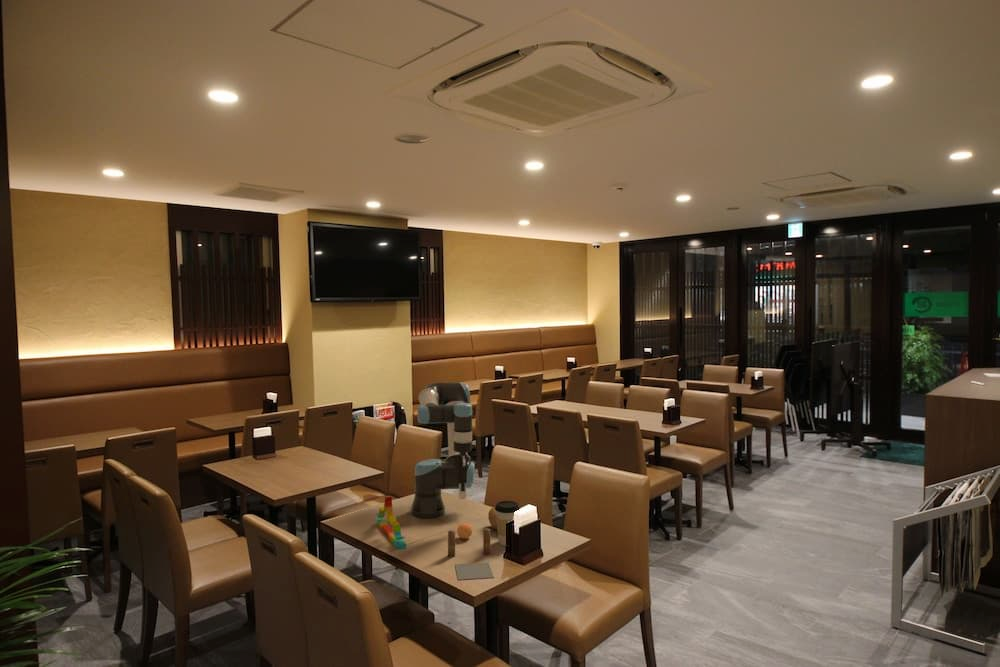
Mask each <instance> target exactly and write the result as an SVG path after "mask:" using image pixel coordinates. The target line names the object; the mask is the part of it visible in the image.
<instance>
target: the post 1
mask: <svg viewBox="0 0 1000 667" xmlns="http://www.w3.org/2000/svg"><path fill="white" fill-rule="evenodd" d="M447 557H449V558H454V557H456V530H454V529H453V530H452V529H450V530H448V531H447Z"/></svg>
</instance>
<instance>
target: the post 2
mask: <svg viewBox="0 0 1000 667" xmlns="http://www.w3.org/2000/svg"><path fill="white" fill-rule="evenodd" d="M482 531H483V537H482V538H483V542H482V544H483V546H482V547H483V548H482V551H483V552H482V554H483V555H484V556H489V555H491V529H490V528H483V530H482Z"/></svg>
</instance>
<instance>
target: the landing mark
mask: <svg viewBox="0 0 1000 667" xmlns="http://www.w3.org/2000/svg"><path fill="white" fill-rule="evenodd" d="M454 565H455V566H454V567H455V572H456V577H457V580H458V581H463V580H464V581H465V580H467V581H468V580H478V579H479V580H480V579H481V580H482V579H494V578H495V577H494V575H493V574H494V573H493V571H492V568H491V566H490V563H489V562H471V563H470V562H469V563H455V564H454Z"/></svg>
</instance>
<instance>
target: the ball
mask: <svg viewBox="0 0 1000 667" xmlns="http://www.w3.org/2000/svg"><path fill="white" fill-rule="evenodd" d="M458 525H459V526H457V529H456V533H457V536H458V537H459V538H460V539H463V540H466V539H469V538H470V537H471V536H472V534H473V528H472V526H471V525H470V524H469V523H468V522H463V523H461V524H458Z"/></svg>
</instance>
